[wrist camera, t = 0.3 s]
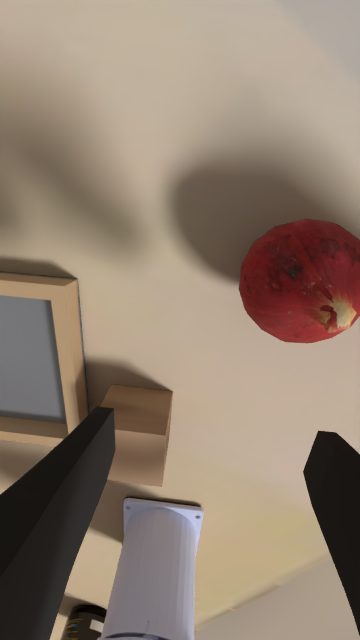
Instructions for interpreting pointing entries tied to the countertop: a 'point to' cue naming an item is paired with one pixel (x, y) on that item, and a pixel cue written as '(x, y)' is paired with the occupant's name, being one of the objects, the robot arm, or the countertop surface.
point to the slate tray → (40, 359)
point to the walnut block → (139, 433)
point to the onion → (303, 281)
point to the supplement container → (84, 623)
